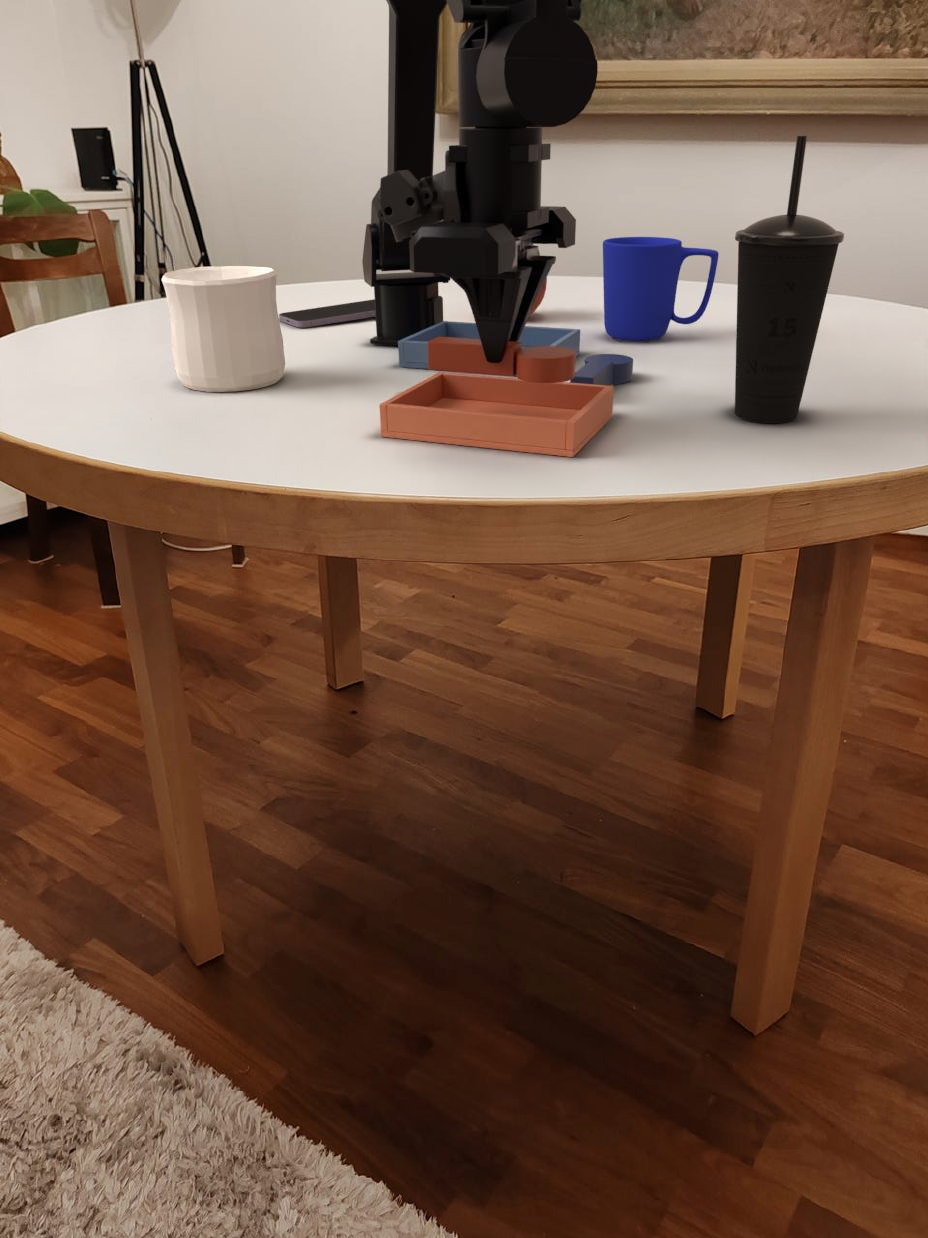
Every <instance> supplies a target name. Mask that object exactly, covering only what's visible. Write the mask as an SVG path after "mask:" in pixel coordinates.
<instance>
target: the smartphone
mask: <svg viewBox="0 0 928 1238" xmlns="http://www.w3.org/2000/svg"><path fill="white" fill-rule="evenodd" d="M278 317H279V322H282V323H284V324H288V325H290V326H293V327H294V328H295V327H296V328H312V327H317V326H325V325H330V324H337V323H343V322H349V321H355V320H356V321H357V320H361V319H362V320H363V319H367V318H376V314H375V298H373V299H368V300H367V299H366V300H361V301H353V302H348V303H340V304H334V305H328V306H327V305H326V306H320V307H319V306H318V307H313V308H306V309H300V310H294V311H286V312H281V313H278Z"/></svg>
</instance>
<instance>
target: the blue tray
mask: <svg viewBox="0 0 928 1238" xmlns="http://www.w3.org/2000/svg"><path fill="white" fill-rule="evenodd" d="M436 337H453V338H468V339H480V336H479V333H478V329H477V326H476V323H475V322H465V321H464V322H463V321H448V320H443V321H442V322H440V323H438V324H436V325H433V326H431V327H429V328H427V329H424V330H422V331H420V332H418V333H415V334H413V335H411V336H408V337H406V338H404V339H402V340H399V341H398V346H397V347H398V350H397V351H398V366H399V368H408V369H409V368H410V369H423V370H429V369H428V341H430V340H432V339H434V338H436ZM518 342H522V348H527V347H534V346H558V347H565V348H569V349H572V350H574V351H575V352H576V357H578V356H579V355H580V353H581V352H580V348H581V329H580V328H564V327H549V326H548V327H547V326H533V325H532V326H531V325H525V327H524V329H523V331H522V334H521V336H520V338H519V341H518ZM514 377H516V375H515V376H514Z"/></svg>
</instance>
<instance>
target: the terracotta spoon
mask: <svg viewBox="0 0 928 1238" xmlns="http://www.w3.org/2000/svg"><path fill="white" fill-rule="evenodd" d="M576 358H577V356H576V352H575V351H574V350H572V349H569V348H565V347H558V346H534V347H527V348H522V342H513V341H509V342H508V345H507V348H506V351H505V354H504V357H503V360H502V362H500V363H489V362H487V360H486V357H485V353H484V350H483V347H482V343H481V340H480V339H468V338H453V337H436V338H434V339H432V340H430V341H428V369H427V370H429V371H438V372H448V373H461V374H473V375H485V376H498V377H510V378H514V377H515V378H518V379H520V380H523V381H527V382H534V383H558V382H568V381H570V380H571V379H573V378H574V377H575V372H576V360H577V359H576ZM515 375H516V376H515Z"/></svg>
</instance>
